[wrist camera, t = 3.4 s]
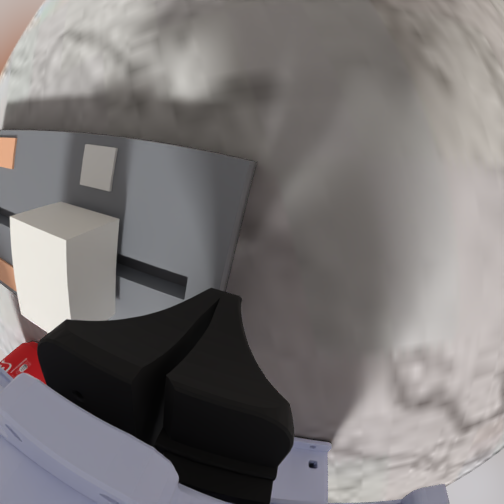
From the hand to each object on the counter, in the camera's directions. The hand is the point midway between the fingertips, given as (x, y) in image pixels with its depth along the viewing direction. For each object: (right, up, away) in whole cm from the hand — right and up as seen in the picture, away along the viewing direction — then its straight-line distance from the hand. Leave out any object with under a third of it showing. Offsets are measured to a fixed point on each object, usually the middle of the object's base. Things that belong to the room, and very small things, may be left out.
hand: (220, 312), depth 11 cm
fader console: (-10, +4, +3) cm, 11 cm away
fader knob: (-7, +3, +2) cm, 8 cm away
